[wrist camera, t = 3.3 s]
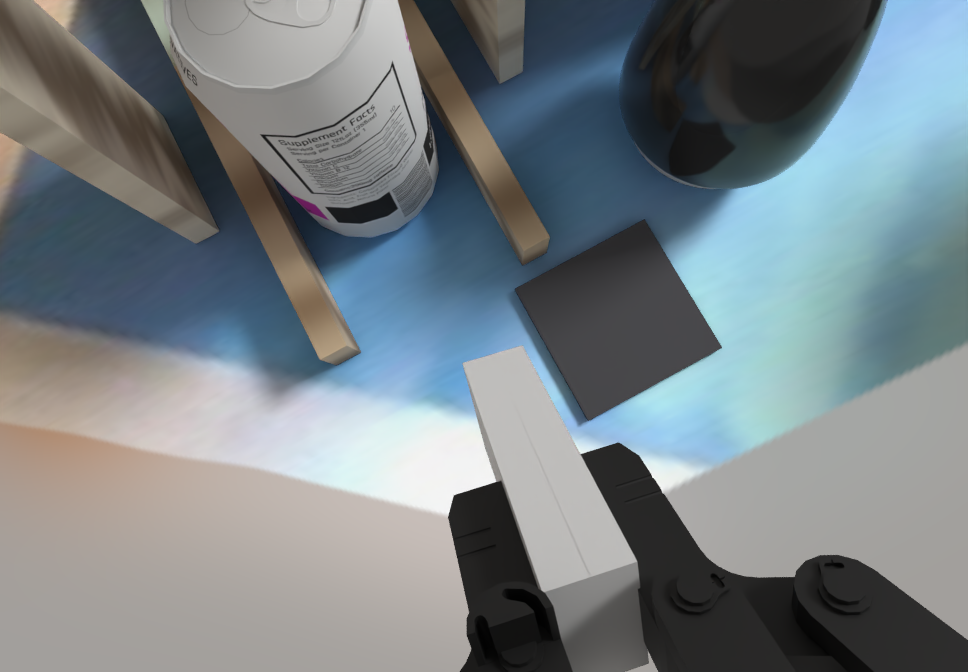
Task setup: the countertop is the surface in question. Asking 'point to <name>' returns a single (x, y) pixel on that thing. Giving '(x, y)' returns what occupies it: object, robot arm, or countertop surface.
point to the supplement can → (316, 101)
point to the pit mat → (617, 319)
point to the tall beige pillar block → (147, 109)
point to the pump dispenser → (740, 83)
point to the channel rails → (283, 232)
